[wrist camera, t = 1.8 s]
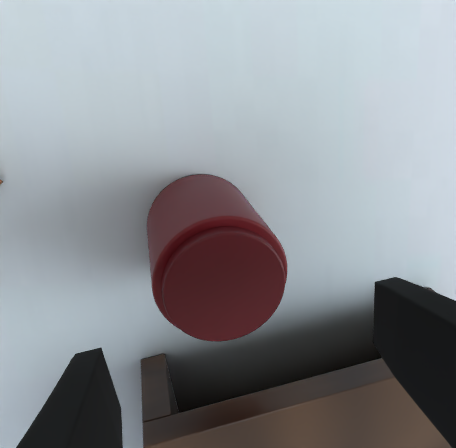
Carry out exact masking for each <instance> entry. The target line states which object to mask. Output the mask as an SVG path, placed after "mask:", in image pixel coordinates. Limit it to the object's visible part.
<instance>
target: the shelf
mask: <svg viewBox="0 0 456 448" xmlns="http://www.w3.org/2000/svg"><path fill="white" fill-rule="evenodd" d="M427 289H428V290H431V291H433V292H435V291H434V290H432V289H431V288H427ZM435 293H436V292H435ZM141 386H142V422H143V448H452V447H451V446H450V445H449V443H448V442H447V441H446V440H445V438H444V437H443V436H442V435H441V434H440V432H439V431H438V430H437V429H436V427H435V426H434V425H433V424H432V423H431V421H430V420H429V419H428V418H427V416H426V415H425V414H424V413H423V412H422V410H421V409H420V408H419V407H418V405H417V404H416V403H415V402H414V401H413V399H412V398H411V397H410V396H409V394H408V393H407V392H406V391H405V389H404V388H403V387H402V386H401V384H400V383H399V382H398V381H397V379H396V378H395V377H394V375H393V374H392V372H391V371H390V369H389V368H388V366H387V365H386V363H385V362H384V360H383V358H380V359H376V360H372V361H369V362H365V363H361V364H358V365H354V366H350V367H347V368H343V369H339V370H336V371H332V372H328V373H325V374H321V375H317V376H314V377H310V378H306V379H303V380H299V381H295V382H292V383H288V384H284V385H281V386H277V387H273V388H270V389H266V390H262V391H258V392H255V393H251V394H247V395H244V396H240V397H236V398H233V399H229V400H225V401H222V402H218V403H214V404H211V405H207V406H203V407H200V408H196V409H192V410H189V411H185V412H181V413H179V411H178V407H177V402H176V398H175V394H174V390H173V386H172V382H171V378H170V374H169V370H168V365H167V361H166V357H165V354H161V355H157V356H153V357H149V358H145V359H142V360H141Z"/></svg>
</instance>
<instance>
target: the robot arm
mask: <svg viewBox="0 0 456 448" xmlns="http://www.w3.org/2000/svg"><path fill="white" fill-rule="evenodd" d="M373 343H374V345H375V347H376V348H377V350H378V352H379V353H380V355H381V357H382V358H383V360H384V362H385V363H386V365H387V366H388V368H389V369H390V371H391V372H392V374H393V375H394V377H395V378H396V379H397V381H398V382H399V383H400V384H401V386H402V387H403V388H404V389H405V391H406V392H407V393H408V394H409V396H410V397H411V398H412V399H413V401H414V402H415V403H416V404H417V405H418V407H419V408H420V409H421V410H422V412H423V413H424V414H425V415H426V416H427V418H428V419H429V420H430V421H431V423H432V424H433V425H434V426H435V427H436V429H437V430H438V431H439V432H440V434H441V435H442V436H443V437H444V438H445V440H446V441H447V442H448V443H449V445H450V446H451V447H452V448H456V301H455V300H452V299H450V298H447V297H445V296H443V295H440V294H438V293H435V292H433V291H431V290H428V289H426V288H423V287H421V286H418V285H416V284H413V283H411V282H408V281H406V280H403V279H400V278H397V277H394V278H390V279H386V280H381V281H377V282H375V293H374V326H373ZM16 448H123V445H122V418H121V407H120V404H119V401H118V398H117V395H116V391H115V388H114V385H113V382H112V379H111V376H110V373H109V370H108V367H107V364H106V361H105V358H104V355H103V351H102V348H98V349H93V350H89V351H85V352H81V353H77V354H75V355H74V357H73V358H72V360H71V361H70V363H69V364H68V366H67V368H66V369H65V371H64V373H63V375H62V376H61V378H60V380H59V381H58V383H57V385H56V386H55V388H54V390H53V391H52V393H51V395H50V396H49V398H48V399H47V401H46V403H45V404H44V406H43V407H42V409H41V411H40V412H39V414H38V415H37V417H36V418H35V420H34V421H33V423H32V425H31V426H30V428H29V429H28V431H27V432H26V434H25V435H24V437H23V438H22V440H21V441H20V443H19V444H18V445H17V447H16Z"/></svg>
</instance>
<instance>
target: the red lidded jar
mask: <svg viewBox="0 0 456 448" xmlns="http://www.w3.org/2000/svg"><path fill="white" fill-rule="evenodd" d="M147 235H148V247H149V259H150V271H151V282H152V291H153V296H154V299H155V302H156V304H157V306H158V308H159V310H160V312H161V313H162V314H163V316H164V317H165V318H166V319H167V320H168V321H169V322H170V323H172V324H173V325H174V326H175V327H177V328H179V329H181V330H182V331H183V332H185V333H186V334H188V335H190V336H192V337H195V338H197V339H201V340H206V341H227V340H232V339H236V338H239V337H242V336H244V335H247V334H249V333H251V332H253V331H254V330H256V329H257V328H259V327H260V326H261V325H263V324H264V323H265V322H266V321H267V320H268V319H269V318H270V317H271V316H272V314H273V313H274V312H275V310H276V309H277V307H278V305H279V304H280V301H281V299H282V296H283V293H284V288H285V283H286V278H287V260H286V256H285V252H284V249H283V247H282V245H281V243H280V242H279V240H278V239H277V237H276V236H275V235H274V234H273V232H272V231H271V230H270V228H269V227H268V226H267V225H266V223H265V222H264V221H263V220H262V218H261V217H260V216H259V215H258V213H257V212H256V211H255V210H254V208H253V207H252V206H251V205H250V203H249V202H248V201H247V199H246V198H245V197H244V196H243V194H242V193H241V192H240V191H239V190H238V189H237V188H236V187H235V186H234V185H233V184H231V183H230V182H228V181H226V180H225V179H222V178H220V177H216V176H213V175H205V174H198V175H191V176H187V177H183V178H181V179H178V180H176V181H175V182H173V183H171V184H170V185H168V186H167V187H166V188H164V189H163V190H162V191H161V192H160V193H159V195H158V196H157V197H156V199H155V200H154V202H153V203H152V206H151V208H150V210H149V214H148V219H147Z"/></svg>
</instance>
